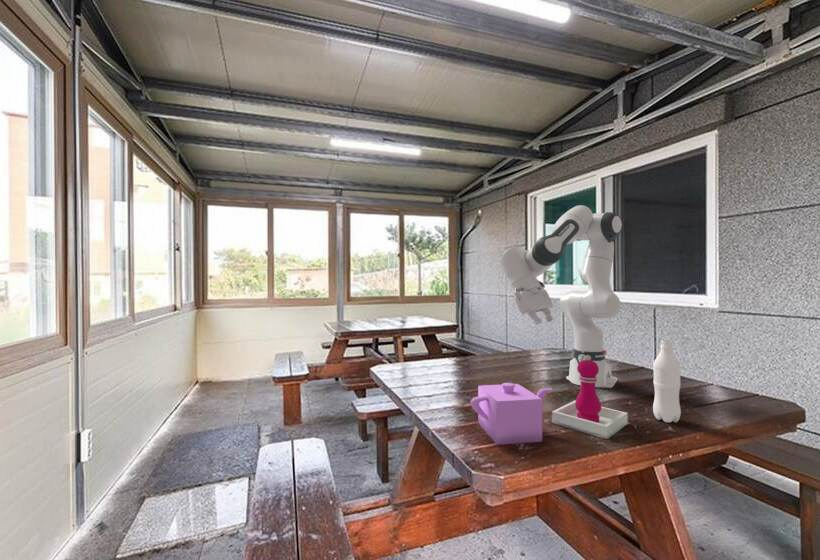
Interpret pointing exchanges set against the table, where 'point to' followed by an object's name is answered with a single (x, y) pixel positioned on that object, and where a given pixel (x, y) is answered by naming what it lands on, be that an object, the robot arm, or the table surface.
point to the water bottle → (666, 384)
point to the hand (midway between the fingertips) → (545, 322)
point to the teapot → (510, 413)
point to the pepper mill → (588, 391)
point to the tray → (604, 429)
